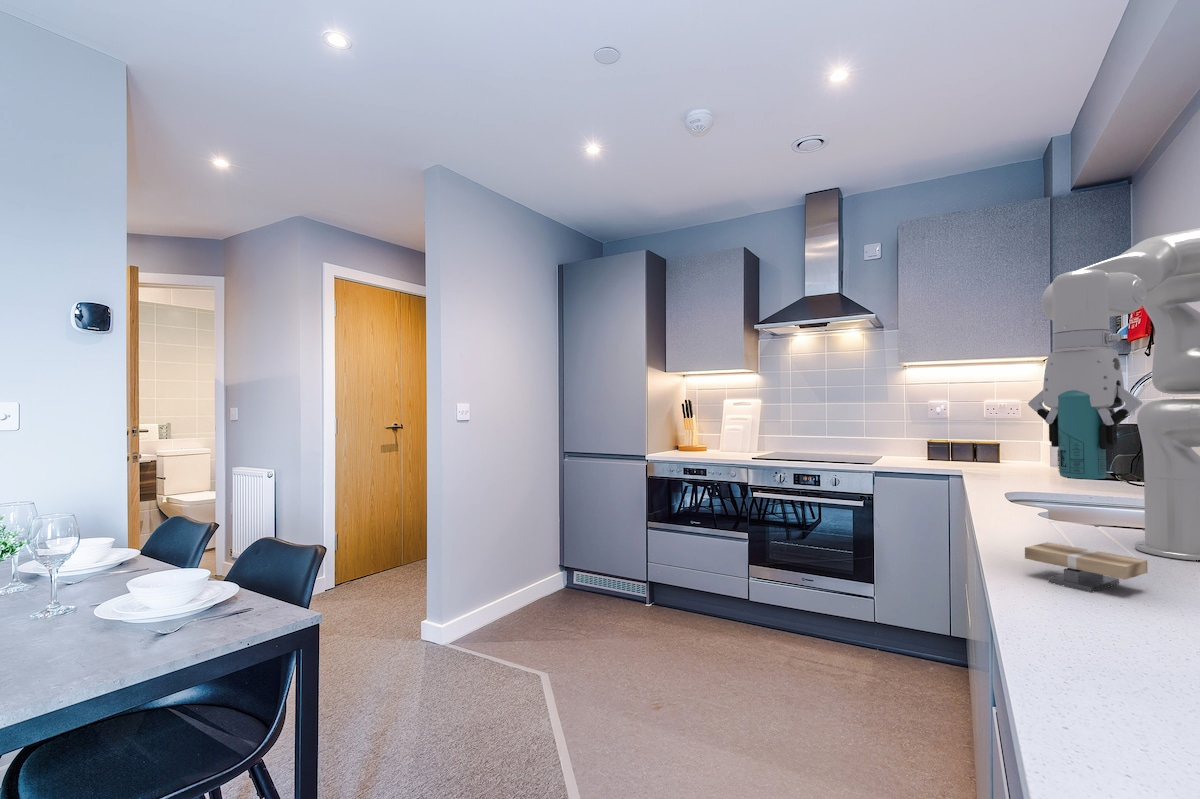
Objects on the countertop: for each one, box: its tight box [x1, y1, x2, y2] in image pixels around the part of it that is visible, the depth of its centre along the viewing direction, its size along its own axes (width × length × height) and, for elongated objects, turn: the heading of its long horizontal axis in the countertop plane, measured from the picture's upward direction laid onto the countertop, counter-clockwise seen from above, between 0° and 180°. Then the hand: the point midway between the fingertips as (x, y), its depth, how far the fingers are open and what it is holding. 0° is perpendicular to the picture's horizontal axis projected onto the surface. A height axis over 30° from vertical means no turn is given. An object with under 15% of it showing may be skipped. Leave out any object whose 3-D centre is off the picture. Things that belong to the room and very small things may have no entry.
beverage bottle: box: [1056, 390, 1108, 480], centre depth 97 cm, size 6×7×20 cm
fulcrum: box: [1048, 567, 1120, 593], centre depth 97 cm, size 10×6×3 cm, turn 118°
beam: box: [1024, 541, 1148, 580], centre depth 97 cm, size 8×14×2 cm, turn 28°
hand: (1081, 446), depth 97 cm, fingers closed on beverage bottle, 6 cm apart
